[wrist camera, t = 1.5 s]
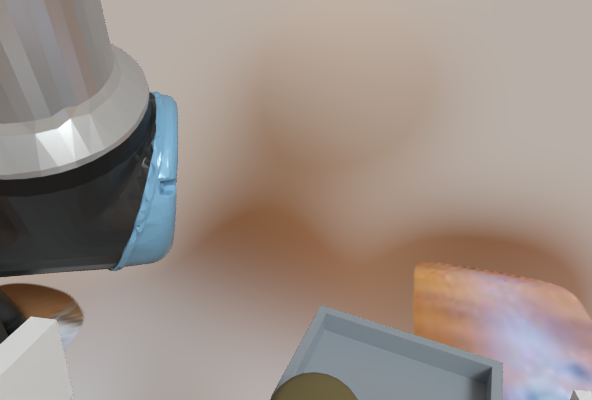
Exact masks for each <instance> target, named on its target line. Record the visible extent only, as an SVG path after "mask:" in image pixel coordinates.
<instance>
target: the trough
mask: <svg viewBox="0 0 592 400" xmlns="http://www.w3.org/2000/svg"><path fill="white" fill-rule="evenodd" d="M311 372H317V373H323V374H328V375H330V376H333V377H335V378H337V379H339V380H340V381H342V382H343V383H344V384H345V385H347V386H348V387H349V388H350V389H351V391H352V392H353V393H354V395H355V396H356V397H357V399H358V400H503V363H502V362H499V361H495V360H492V359H489V358H486V357H483V356H480V355H476V354H473V353H470V352H467V351H464V350H461V349H458V348H454V347H451V346H448V345H445V344H442V343H439V342H435V341H432V340H429V339H426V338H423V337H420V336H417V335H413V334H410V333H407V332H404V331H400V330H397V329H395V328H391V327H388V326H385V325H382V324H378V323H375V322H372V321H369V320H366V319H363V318H360V317H357V316H353V315H350V314H347V313H344V312H341V311H338V310H334V309H331V308H328V307H325V306H322V305H321V306H320V308H319V310H318V312H317V314H316V316H315V317H314V319H313V321H312V323H311V325H310V327H309V328H308V330H307V332H306V334H305V336H304V338H303V339H302V341H301V343H300V345H299V347H298V349H297V350H296V352H295V354H294V356H293V358H292V360H291V361H290V363H289V365H288V367H287V369H286V371H285V372H284V374H283V376H282V378H281V380H280V382H279V383H278V385H277V387H276V389H275V391H274V393H275V392H276V390H277V389H278V388H279V387H280V386H281V385H282V384H284V383H285V382H286V381H287V380H289V379H290V378H292V377H295V376H297V375H299V374H302V373H311ZM274 393H273V394H272V396H273V395H274ZM271 398H272V397H271Z"/></svg>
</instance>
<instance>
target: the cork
mask: <svg viewBox="0 0 592 400" xmlns="http://www.w3.org/2000/svg"><path fill="white" fill-rule="evenodd" d="M271 400H358V399H357V397H356V396H355V395H354V393H353V392H352V391H351V389H350V388H349V387H348V386H347V385H345V384H344V383H343V382H342V381H340V380H339V379H337V378H335V377H333V376H330V375H328V374H323V373H317V372H311V373H302V374H299V375H297V376H295V377H292V378H290V379H289V380H287V381H286V382H285V383H284V384H282V385H281V386H280V387H279V388H278V389H277V390H276V392H275V393H274V395H273V396H272V398H271Z"/></svg>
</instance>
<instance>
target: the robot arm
mask: <svg viewBox="0 0 592 400" xmlns="http://www.w3.org/2000/svg"><path fill="white" fill-rule="evenodd" d="M177 113H178V112H177V104H176V102H175V100H174V99H173V98H172V97H170V96H168V95H162V94H160V93H158V92H149V88H148V84H147V81H146V78H145V75H144V72H143V70H142V69H141V67H140V66H139V64H138V63H137V62H136V61H135V60H134V59H133V58H132V57H131V56H130V55H128V54H127V53H126V52H124V51H123V50H122V49H120V48H118V47H116V46H115V45H113V44H111V43H110V41H109V37H108V32H107V28H106V24H105V19H104V15H103V10H102V6H101V2H100V0H0V277H9V276H21V275H33V274H45V273H56V272H70V271H85V270H98V269H109V270H111V271H117V270H120V269H122V268H123V267H126V266H133V265H141V264H149V263H154V262H157V261H159V260H161V259H162V258H164V257H165V256H166V255H167V254H168V252H169V251H170V249H171V247H172V244H173V239H174V230H175V229H174V228H175V215H176V182H177V164H178V163H177V162H178V114H177ZM73 396H74V393H73V389H72V384H71V380H70V376H69V371H68V367H67V363H66V359H65V354H64V350H63V345H62V341H61V337H60V332H59V328H58V324H57V320H53V319H46V318H38V317H30V318H29V319H28V320H26V318H25V316H24V314H23V313H22V311H21V310H20V309H19V307H18V306H17V305H16V304H15V303H14V302H13V301H12V300H11V299H10V298H9V297H8V296H7V295H6V294H5V293H4V292H3V291H2V290H1V289H0V400H71V398H72V397H73ZM570 400H592V392H587V391H580V390H574V391H573V393H572V396H571V399H570Z"/></svg>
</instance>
